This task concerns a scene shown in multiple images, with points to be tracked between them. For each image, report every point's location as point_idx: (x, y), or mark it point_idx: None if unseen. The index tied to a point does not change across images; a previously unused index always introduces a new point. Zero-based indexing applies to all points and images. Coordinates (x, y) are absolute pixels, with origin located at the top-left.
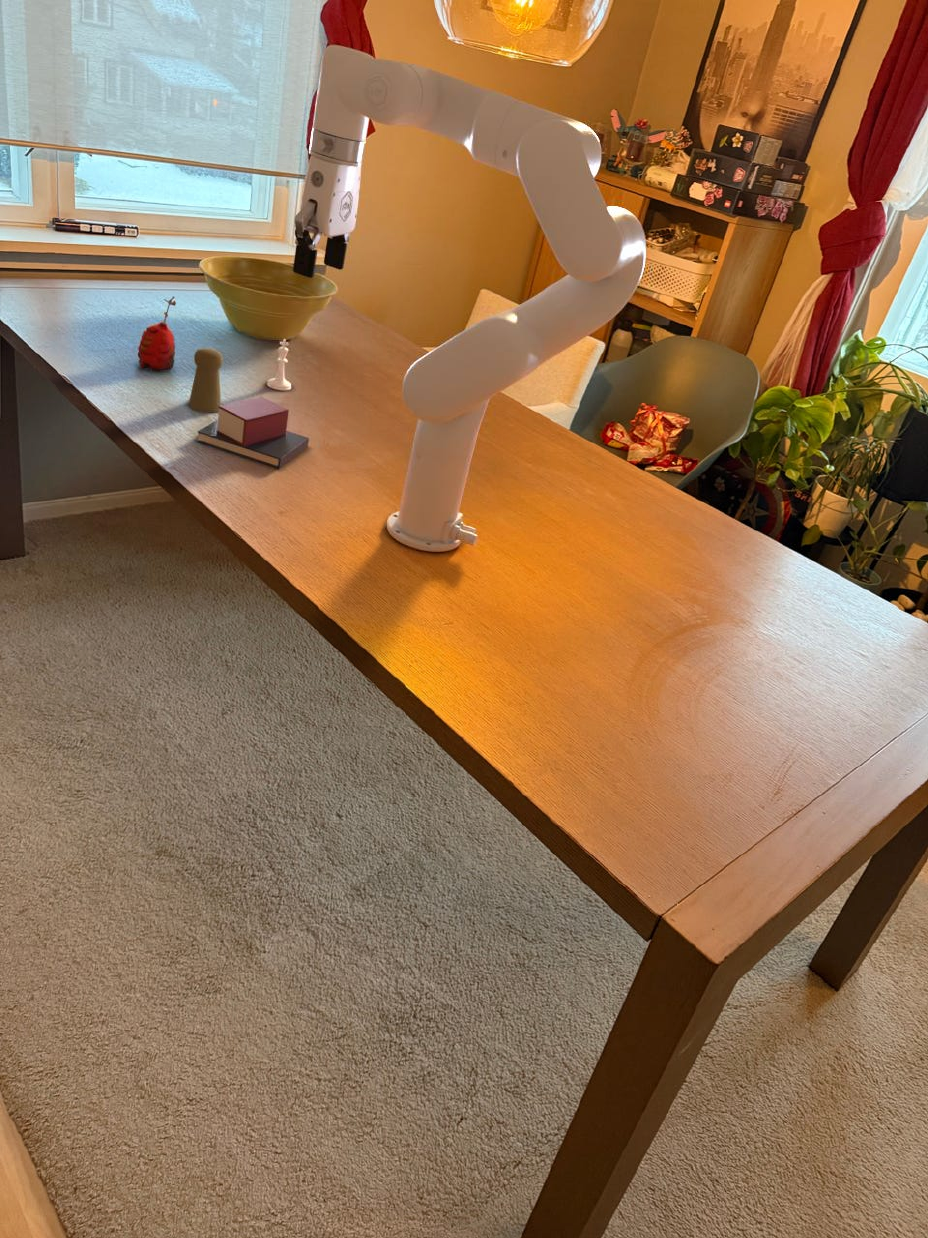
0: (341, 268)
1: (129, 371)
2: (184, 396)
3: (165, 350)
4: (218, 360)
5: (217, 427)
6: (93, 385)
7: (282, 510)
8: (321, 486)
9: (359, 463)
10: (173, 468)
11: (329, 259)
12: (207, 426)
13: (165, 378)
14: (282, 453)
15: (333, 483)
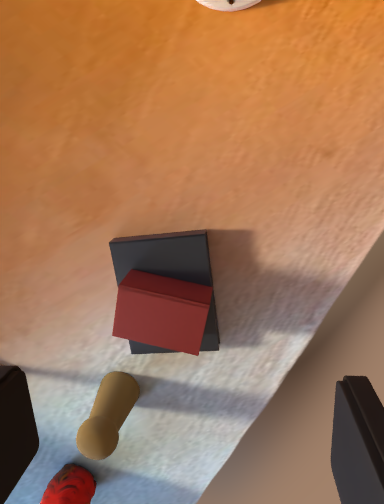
0: (15, 366)
1: (115, 485)
2: None
3: (70, 488)
4: (97, 426)
5: None
6: (182, 488)
7: (320, 156)
8: (208, 157)
9: (92, 157)
10: (310, 320)
11: (20, 446)
12: None
13: None
14: (187, 240)
15: (185, 150)
